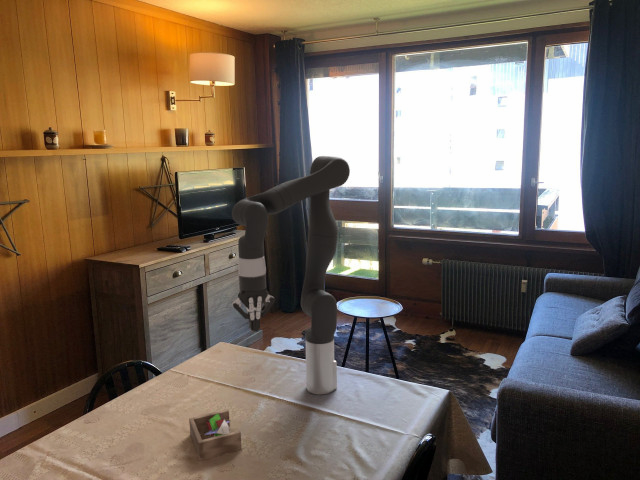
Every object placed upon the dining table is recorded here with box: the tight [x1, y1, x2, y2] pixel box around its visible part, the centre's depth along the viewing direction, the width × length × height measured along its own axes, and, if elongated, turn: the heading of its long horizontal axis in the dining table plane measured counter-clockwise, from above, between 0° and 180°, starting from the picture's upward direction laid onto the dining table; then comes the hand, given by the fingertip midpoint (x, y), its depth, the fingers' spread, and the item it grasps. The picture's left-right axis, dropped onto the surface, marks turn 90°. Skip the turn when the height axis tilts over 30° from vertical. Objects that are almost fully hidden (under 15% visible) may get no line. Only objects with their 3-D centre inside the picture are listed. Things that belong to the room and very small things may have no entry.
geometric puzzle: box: [204, 413, 232, 437], centre depth 142 cm, size 7×7×8 cm
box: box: [188, 409, 242, 461], centre depth 140 cm, size 11×13×5 cm
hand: (254, 330), depth 147 cm, fingers closed
